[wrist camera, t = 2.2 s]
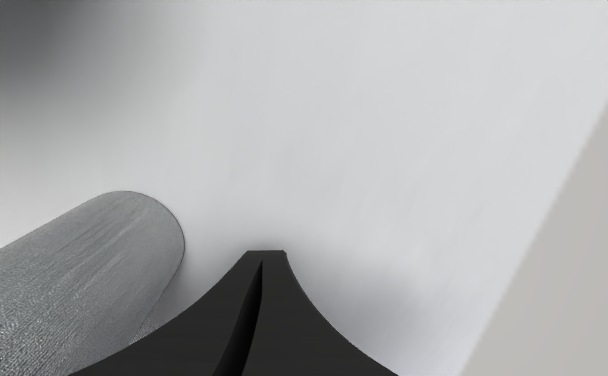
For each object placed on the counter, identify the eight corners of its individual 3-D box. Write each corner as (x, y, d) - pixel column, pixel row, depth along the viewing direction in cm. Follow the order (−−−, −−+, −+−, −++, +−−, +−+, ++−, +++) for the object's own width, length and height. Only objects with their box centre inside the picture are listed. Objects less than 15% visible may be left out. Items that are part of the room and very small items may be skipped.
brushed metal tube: (67, 186, 13) (-726, 531, 3) (182, 192, 13) (-174, 528, 3) (84, 284, 14) (-409, 747, 4) (188, 287, 14) (-46, 733, 4)
